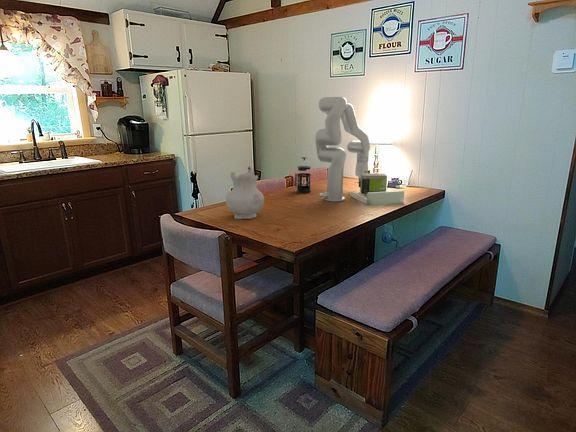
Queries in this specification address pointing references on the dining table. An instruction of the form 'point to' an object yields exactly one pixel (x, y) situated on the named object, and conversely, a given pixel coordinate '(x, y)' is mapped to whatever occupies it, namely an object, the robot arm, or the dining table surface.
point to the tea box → (372, 183)
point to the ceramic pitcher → (245, 196)
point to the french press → (303, 188)
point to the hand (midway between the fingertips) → (361, 187)
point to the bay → (380, 197)
